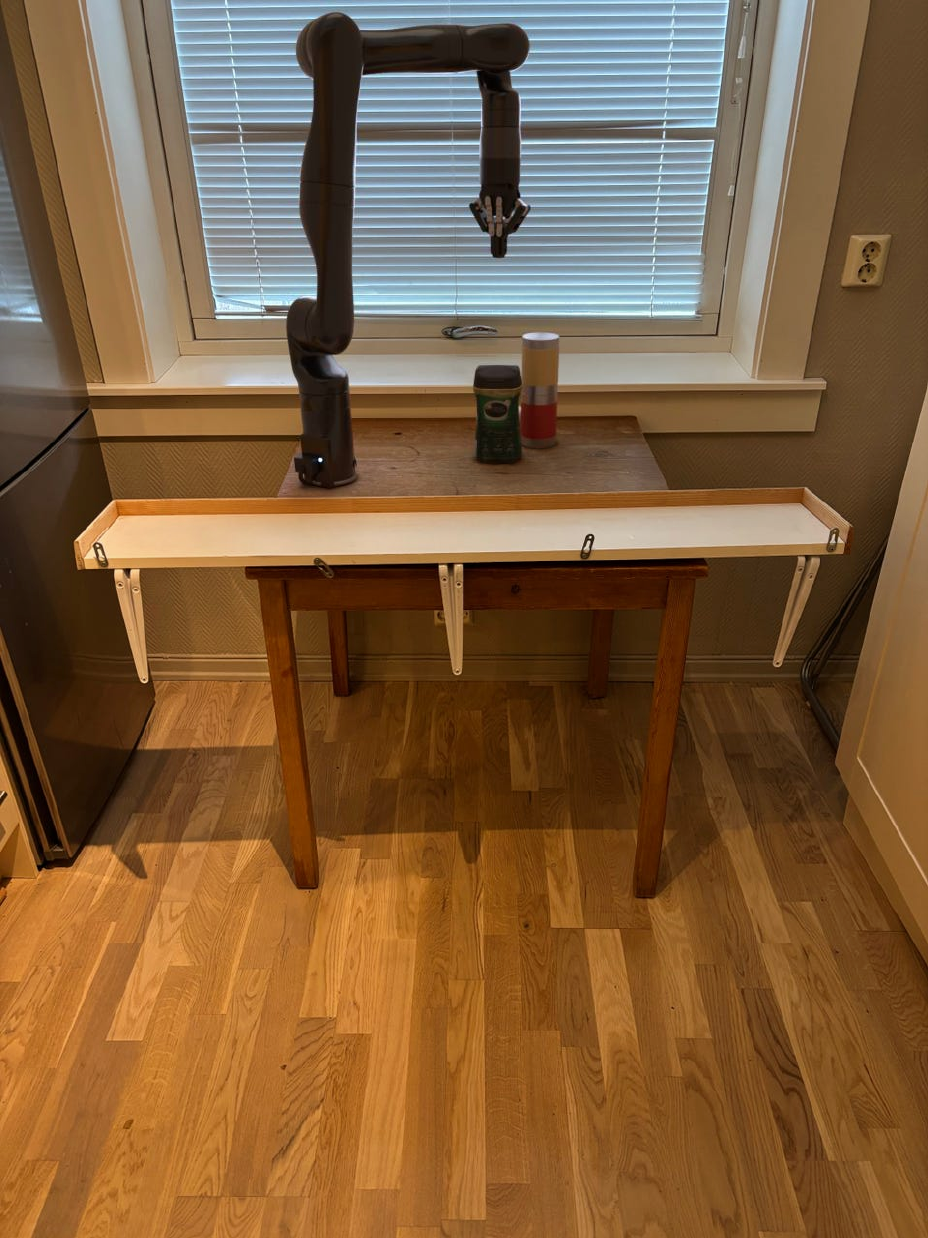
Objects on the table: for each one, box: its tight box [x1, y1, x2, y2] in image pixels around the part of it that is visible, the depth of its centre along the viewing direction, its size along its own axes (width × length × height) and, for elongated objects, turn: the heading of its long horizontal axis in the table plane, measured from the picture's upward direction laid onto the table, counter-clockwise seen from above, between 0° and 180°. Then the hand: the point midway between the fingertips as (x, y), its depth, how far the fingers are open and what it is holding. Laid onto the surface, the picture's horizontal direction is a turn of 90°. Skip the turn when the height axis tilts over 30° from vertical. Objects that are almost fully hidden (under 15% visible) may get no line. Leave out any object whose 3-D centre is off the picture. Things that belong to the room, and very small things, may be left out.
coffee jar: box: [472, 364, 523, 464], centre depth 180 cm, size 10×8×19 cm
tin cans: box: [519, 331, 560, 449], centre depth 187 cm, size 8×8×22 cm
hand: (498, 257), depth 173 cm, fingers closed
